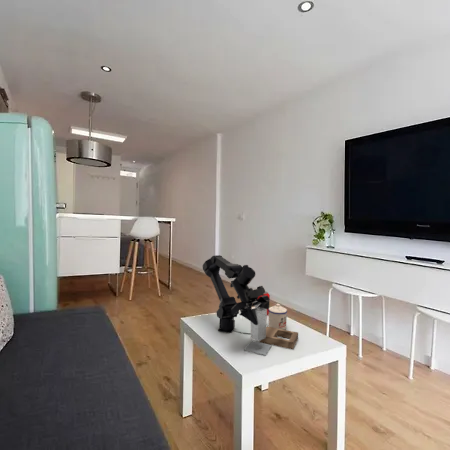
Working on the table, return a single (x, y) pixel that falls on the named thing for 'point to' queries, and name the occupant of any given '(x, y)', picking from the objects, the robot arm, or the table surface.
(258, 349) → the rubber mat
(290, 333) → the brown wooden rectangular frame
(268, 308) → the soda can
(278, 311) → the teacup with lid
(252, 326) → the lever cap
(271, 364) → the table surface
